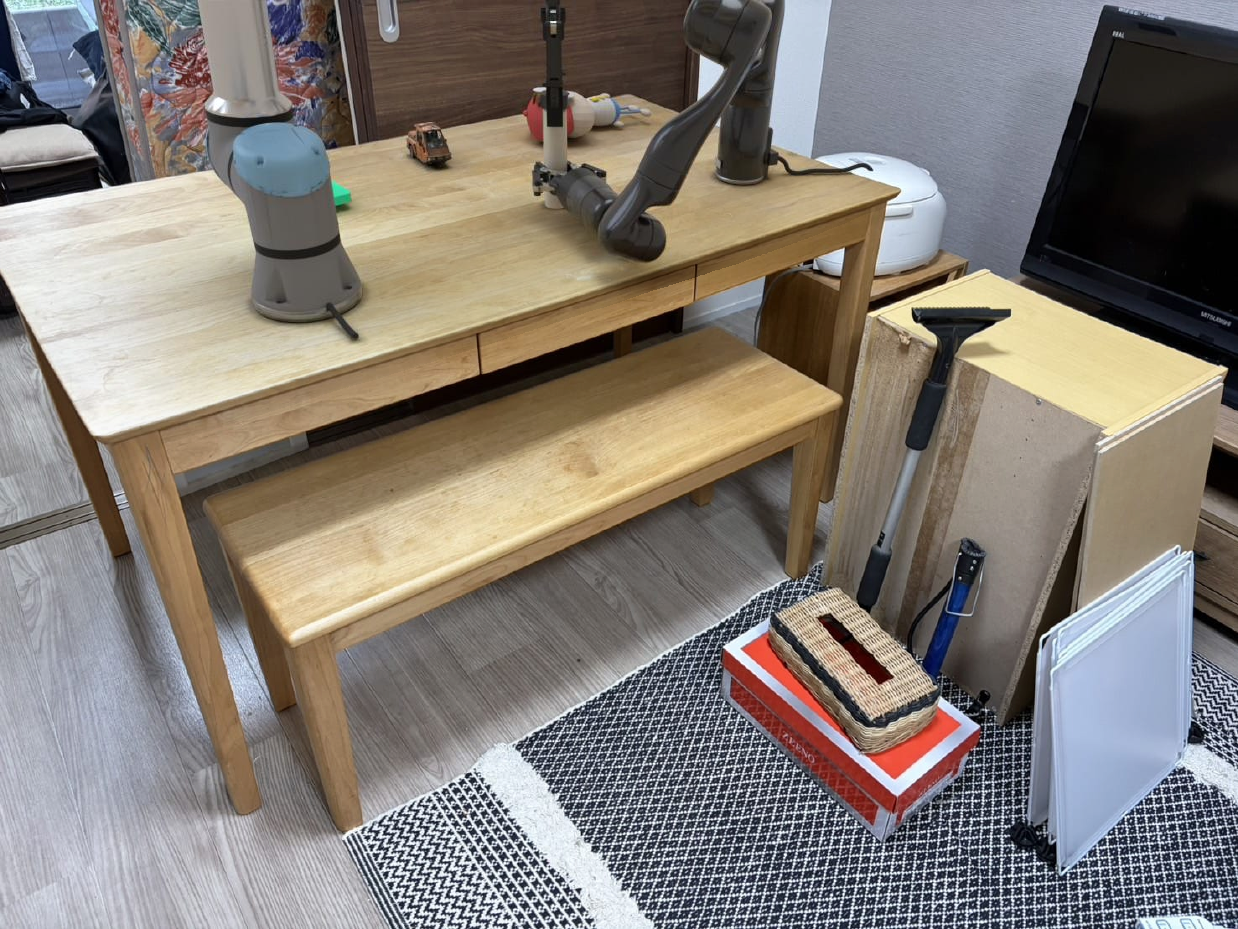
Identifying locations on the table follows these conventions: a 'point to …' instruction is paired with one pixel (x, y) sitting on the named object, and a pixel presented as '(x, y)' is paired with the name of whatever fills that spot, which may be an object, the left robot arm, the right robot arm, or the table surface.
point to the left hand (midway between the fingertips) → (554, 121)
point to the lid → (543, 99)
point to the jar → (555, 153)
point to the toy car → (428, 144)
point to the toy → (580, 113)
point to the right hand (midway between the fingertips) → (549, 165)
